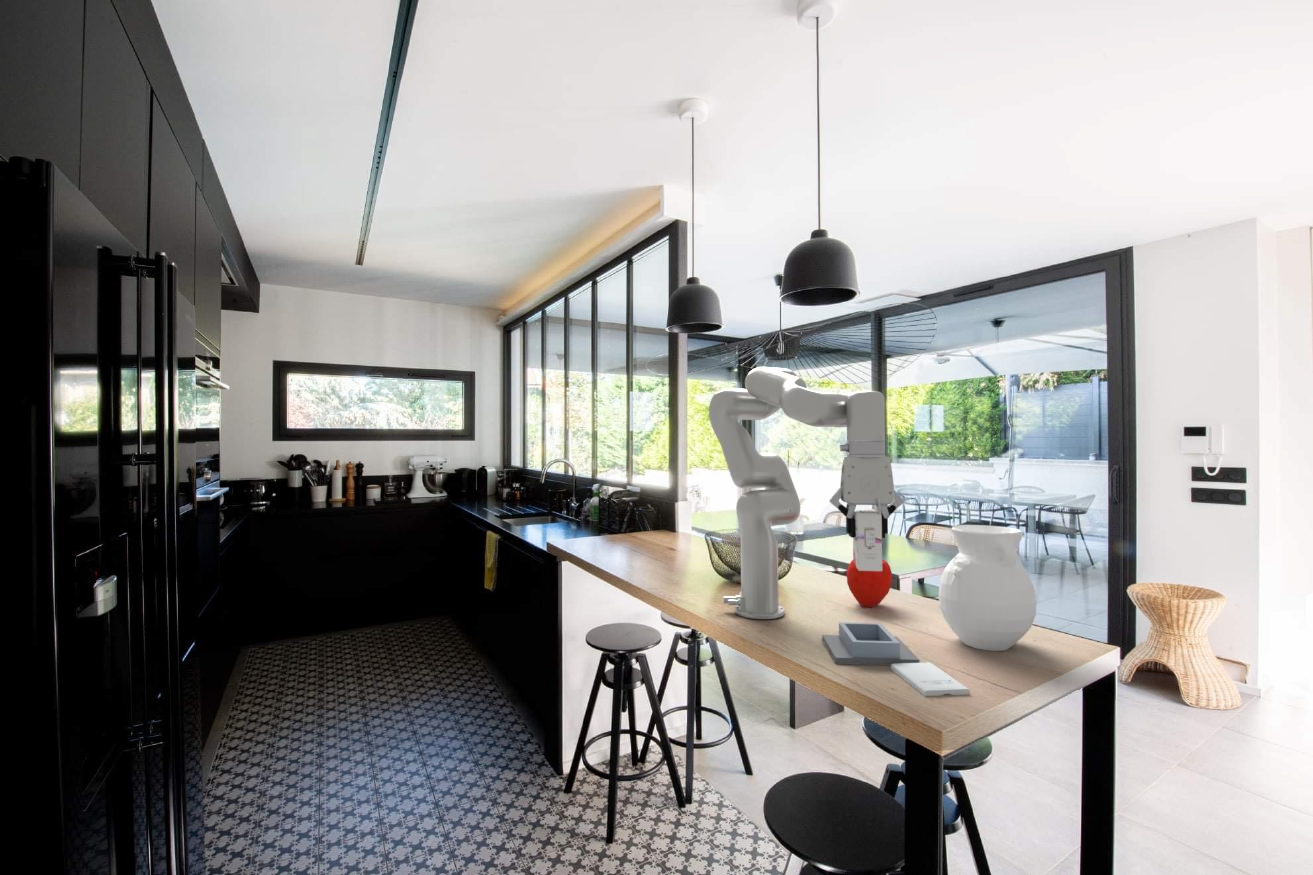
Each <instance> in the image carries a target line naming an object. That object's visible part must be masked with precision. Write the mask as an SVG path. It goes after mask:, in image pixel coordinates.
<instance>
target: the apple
mask: <svg viewBox="0 0 1313 875" xmlns="http://www.w3.org/2000/svg"><path fill="white" fill-rule="evenodd" d="M892 580H893V573H892V569H891V566H890V564H889V563H888V562H887V561H886V560H884V559H883V558H882V571H859V570H858V569H857V567H856V565H855V564H854V562H853V559H852V560H851V561H850V563H849V564H848V567H847V570H846V581H847V582H846V583H847V585H848V590H849V591H850V593H851V594H852V595H853V597H854V599H855V601H856V602H857V603H858V604H859V605H861V606H862V607H865V608H873V607H876V606H878V605H880V604H881V603H882V601H883V600H884V599H885V597H886V596H887V595H888V594H889V592H890V589H891V587H892V582H893V581H892Z"/></svg>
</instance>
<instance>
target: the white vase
mask: <svg viewBox="0 0 1313 875" xmlns="http://www.w3.org/2000/svg"><path fill="white" fill-rule="evenodd" d="M951 531H952V535H953V538H954V540H955V543H956V546H957V551H958V553H957V554H956V555H955V556H954V557H953V558H951V560H950V561H948V564H947V565H946V566H945V568H944V569H943V572H942V575H941V577H940V579H939V587H938V606H939V609H940V611H941V613H942V617H943V619H944V620H945V621H946V623H947V625H948V627H949V628H950V629H951V631H953V633H954V634H955V635H956V636H957V637H958V639H959V640H960V641H961V642H962V643H963V644H964V645H966V646H968V647H971V648H973V649H976V650H977V649H978V650H982V651H983V650H984V651H989V652H991V651H992V652H1002V651H1003V652H1004V651H1007V650H1009V649H1010V648H1011V647H1013V646H1014V645H1015V644H1016V643H1017V642H1018V641H1020V640H1021V639H1022V638H1023V637H1024V636H1025V635H1026V634H1027V633H1028V632H1029V631H1030V630H1031V628H1032V625H1033V623H1034V620H1035V618H1036V615H1037V614H1036V612H1037V597H1036V591H1035V586H1034V583H1033V581H1032V579H1031V578H1030V575H1029V574H1028V572H1027V570H1026V568H1025V567H1024V565H1023V563H1022V561H1021V557H1020V556H1021V555H1020V554H1019V553H1017V549H1018V547H1019V545H1020V543H1021V540H1022V536H1023V532H1022V530H1020V529H1019V528H1015V527H1009V526H999V525H985V524H982V525H980V524H961V525H960V524H958V525H953V526H952V527H951Z"/></svg>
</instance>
